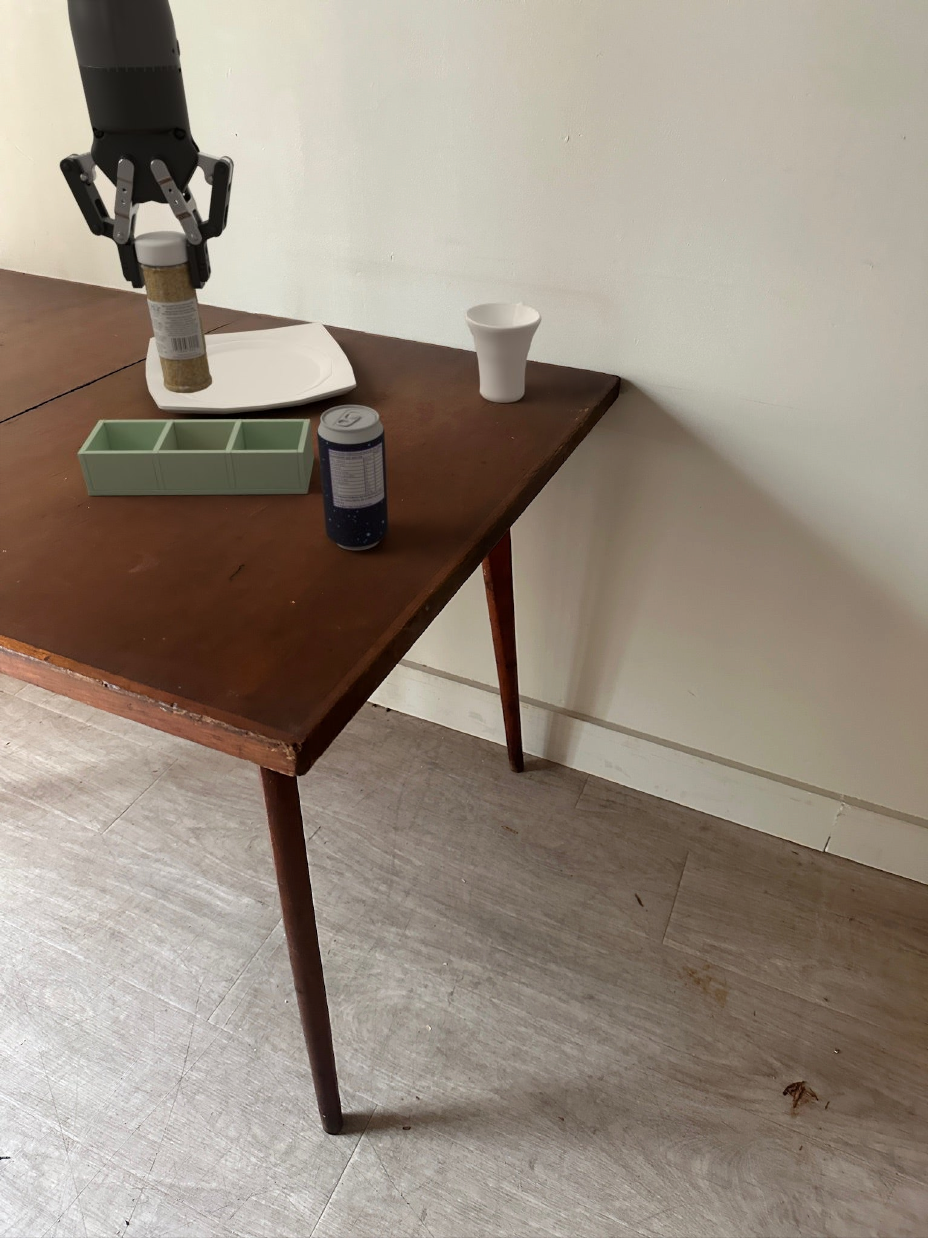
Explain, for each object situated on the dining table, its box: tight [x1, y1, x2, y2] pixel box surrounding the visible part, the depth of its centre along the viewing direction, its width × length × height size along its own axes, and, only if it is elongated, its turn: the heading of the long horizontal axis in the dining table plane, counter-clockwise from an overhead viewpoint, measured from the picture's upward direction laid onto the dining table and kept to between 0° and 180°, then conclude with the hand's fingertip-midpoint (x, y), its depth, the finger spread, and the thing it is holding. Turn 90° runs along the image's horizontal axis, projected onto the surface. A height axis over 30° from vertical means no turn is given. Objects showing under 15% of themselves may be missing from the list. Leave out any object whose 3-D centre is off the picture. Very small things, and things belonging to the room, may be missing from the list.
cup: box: [464, 301, 542, 404], centre depth 104 cm, size 9×9×10 cm
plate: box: [145, 322, 357, 415], centre depth 107 cm, size 24×24×3 cm
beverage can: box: [316, 404, 389, 551], centre depth 76 cm, size 6×6×12 cm
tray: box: [77, 418, 315, 497], centre depth 87 cm, size 21×8×5 cm, turn 93°
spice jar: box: [134, 230, 212, 393], centre depth 78 cm, size 5×5×13 cm
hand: (170, 285), depth 77 cm, fingers closed on spice jar, 4 cm apart
